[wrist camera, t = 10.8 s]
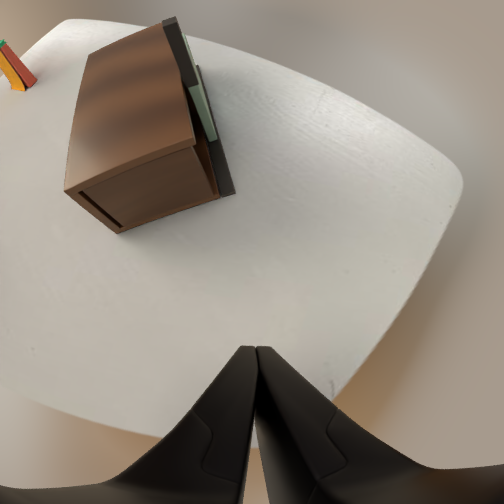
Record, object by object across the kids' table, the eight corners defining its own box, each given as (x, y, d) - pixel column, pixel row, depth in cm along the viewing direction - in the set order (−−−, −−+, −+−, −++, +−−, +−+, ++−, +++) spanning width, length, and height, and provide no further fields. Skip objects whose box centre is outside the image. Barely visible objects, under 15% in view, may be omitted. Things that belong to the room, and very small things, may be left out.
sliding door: (218, 140, 27) (176, 21, 15) (208, 143, 27) (161, 27, 15) (201, 80, 30) (168, -15, 18) (193, 83, 31) (158, -11, 18)
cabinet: (235, 193, 25) (213, 130, 18) (116, 234, 26) (63, 191, 18) (198, 66, 32) (181, 15, 25) (115, 98, 33) (88, 54, 25)
